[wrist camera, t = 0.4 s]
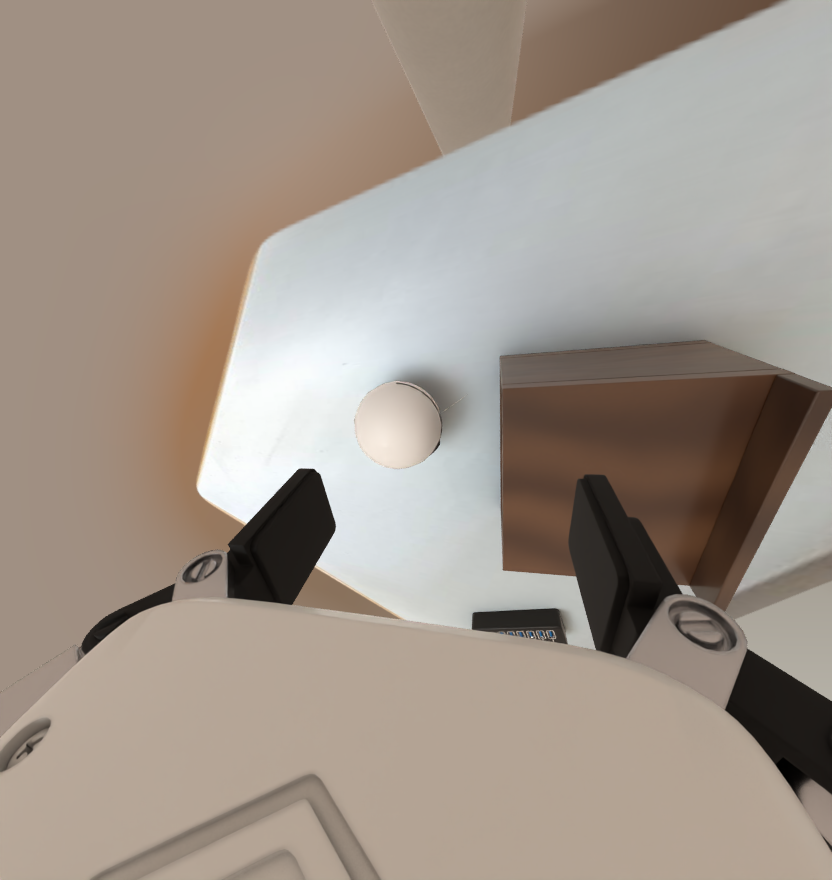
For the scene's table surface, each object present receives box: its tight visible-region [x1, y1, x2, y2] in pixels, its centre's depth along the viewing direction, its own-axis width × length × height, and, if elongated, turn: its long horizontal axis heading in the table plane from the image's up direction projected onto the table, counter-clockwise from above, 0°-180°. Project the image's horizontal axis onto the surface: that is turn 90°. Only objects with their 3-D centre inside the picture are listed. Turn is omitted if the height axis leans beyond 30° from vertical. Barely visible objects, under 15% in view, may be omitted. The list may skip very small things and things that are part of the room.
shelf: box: [500, 340, 832, 611], centre depth 23 cm, size 16×14×10 cm
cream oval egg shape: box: [354, 381, 468, 469], centre depth 26 cm, size 10×7×7 cm
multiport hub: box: [472, 609, 568, 644], centre depth 40 cm, size 4×11×2 cm, turn 113°
